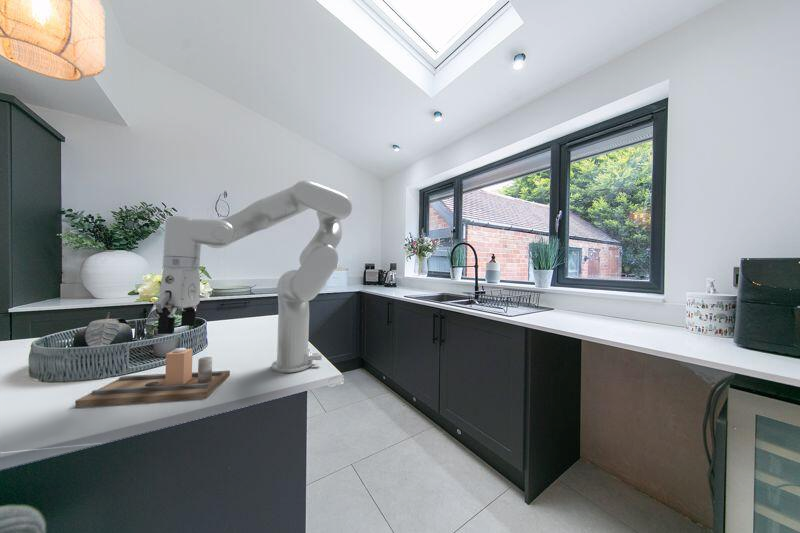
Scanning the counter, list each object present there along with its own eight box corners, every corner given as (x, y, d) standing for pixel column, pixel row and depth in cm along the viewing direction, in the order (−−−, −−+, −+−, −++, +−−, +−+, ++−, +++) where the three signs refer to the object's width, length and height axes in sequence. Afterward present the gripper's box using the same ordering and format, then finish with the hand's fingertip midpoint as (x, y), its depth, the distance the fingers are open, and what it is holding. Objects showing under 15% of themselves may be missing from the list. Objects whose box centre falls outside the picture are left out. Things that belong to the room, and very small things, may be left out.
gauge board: (229, 375, 79) (230, 350, 79) (206, 398, 66) (207, 367, 66) (124, 381, 74) (125, 354, 74) (75, 407, 60) (76, 373, 60)
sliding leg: (191, 378, 73) (192, 346, 73) (183, 384, 69) (184, 351, 69) (174, 379, 72) (175, 347, 72) (165, 385, 68) (166, 351, 68)
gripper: (178, 264, 63) (174, 337, 63) (213, 265, 80) (209, 323, 79) (141, 262, 61) (136, 337, 61) (184, 264, 78) (180, 323, 78)
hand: (177, 329), depth 70 cm, fingers open, 9 cm apart
